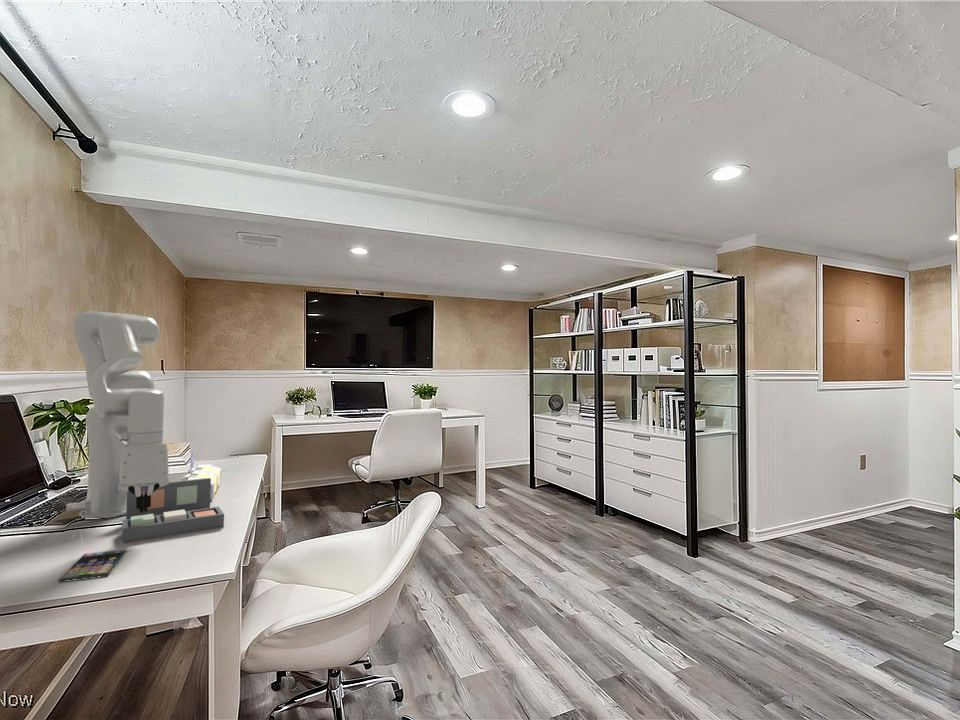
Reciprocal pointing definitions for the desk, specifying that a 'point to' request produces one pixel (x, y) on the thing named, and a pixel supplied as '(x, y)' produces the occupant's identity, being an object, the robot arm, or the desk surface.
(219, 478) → the white yellow ridged block
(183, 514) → the key cream
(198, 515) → the key terracotta
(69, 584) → the desk surface
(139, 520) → the key sage
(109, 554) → the smartphone
